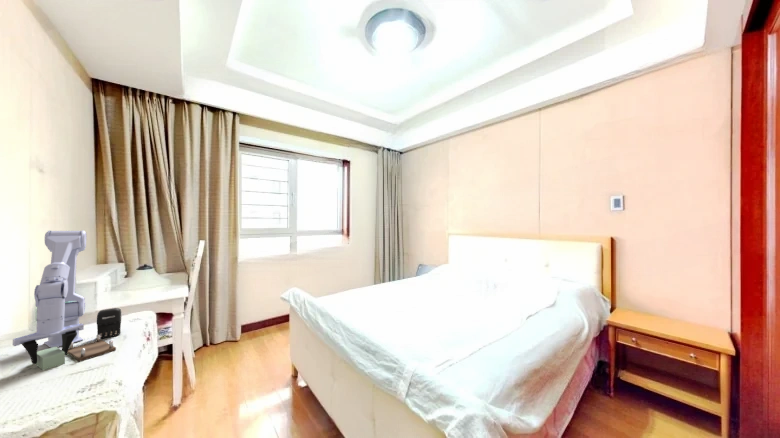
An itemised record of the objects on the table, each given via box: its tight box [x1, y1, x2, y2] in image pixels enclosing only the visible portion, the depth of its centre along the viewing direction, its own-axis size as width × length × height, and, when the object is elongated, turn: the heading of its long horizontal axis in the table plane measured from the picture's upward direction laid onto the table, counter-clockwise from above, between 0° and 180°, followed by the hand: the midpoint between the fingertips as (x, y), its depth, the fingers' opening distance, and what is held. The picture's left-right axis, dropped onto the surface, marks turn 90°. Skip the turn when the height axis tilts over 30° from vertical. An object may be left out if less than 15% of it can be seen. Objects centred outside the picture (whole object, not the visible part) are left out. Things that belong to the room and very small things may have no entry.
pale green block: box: [35, 347, 66, 371], centre depth 89 cm, size 9×4×4 cm, turn 64°
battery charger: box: [96, 307, 123, 340], centre depth 109 cm, size 7×4×11 cm, turn 130°
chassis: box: [67, 334, 117, 362], centre depth 97 cm, size 14×9×4 cm, turn 64°
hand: (49, 358), depth 89 cm, fingers open, 6 cm apart
